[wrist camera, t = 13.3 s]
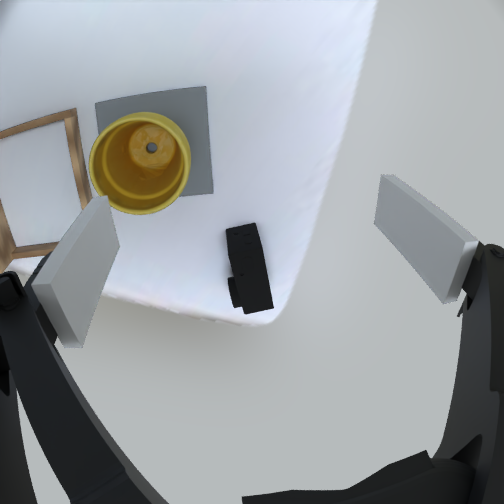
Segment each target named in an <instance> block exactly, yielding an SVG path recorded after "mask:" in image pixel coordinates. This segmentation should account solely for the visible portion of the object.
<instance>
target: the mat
mask: <svg viewBox="0 0 504 504" xmlns="http://www.w3.org/2000/svg"><path fill="white" fill-rule="evenodd" d="M95 109H96V117H97V124H98V131H99V135H100V133H101V132H102V131H103V130H104V129H105V128H106V127H107V126H109V125H110V124H111V123H113V122H115V121H116V120H118V119H120V118H122V117H124V116H126V115H129V114H133V113H138V112H152V113H157V114H160V115H163V116H165V117H167V118H169V119H170V120H172V121H173V122H174V123H175V124H177V125H178V126H179V127H180V129H181V130H182V131H183V133H184V134H185V136H186V138H187V140H188V143H189V146H190V151H191V167H190V173H189V177H188V181H187V183H186V185H185V188H184V189H183V191H182V193H181V194H180V195H179V197H181V196H191V195H202V194H213V183H212V170H211V157H210V143H209V129H208V113H207V97H206V86H203V87H193V88H183V89H175V90H167V91H160V92H153V93H146V94H140V95H134V96H128V97H123V98H118V99H113V100H108V101H103V102H99V103H95ZM147 149H148V151H149V152H154V151H156V149H157V146H156V145H155V144H154V143H149V144H148V146H147Z"/></svg>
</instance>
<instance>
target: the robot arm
mask: <svg viewBox="0 0 504 504" xmlns="http://www.w3.org/2000/svg"><path fill="white" fill-rule="evenodd" d="M374 224H375V225H376V226H377V227H378V229H379V230H381V232H382V233H383V234H384V235H385V236H386V237H387V238H388V239H389V240H390V242H391V243H392V244H393V245H394V246H395V247H396V248H397V249H398V251H399V252H400V253H401V254H402V255H403V256H404V257H405V259H406V260H407V261H408V262H409V263H410V264H411V266H412V267H413V268H414V269H415V270H416V271H417V273H418V274H419V275H420V276H421V277H422V279H423V280H424V281H425V282H426V283H427V285H428V286H429V287H430V288H431V290H432V291H433V292H434V293H435V295H436V296H437V297H438V298H439V300H440V301H441V302H442V303H443V304H446V303H450V302H454V301H457V298H458V296H459V294H460V292H461V289H463V290H464V291H465V292H466V293H467V294H466V297H465V299H464V301H463V304H462V306H461V308H460V310H459V313H458V315H457V317H460V314H462V313H463V318H462V331H461V341H460V350H459V358H458V365H457V372H456V378H455V384H454V390H453V395H452V400H451V405H450V410H449V414H448V419H447V423H446V427H445V431H444V436H443V439H442V442H441V444H440V447H439V448H438V450H437V452H436V453H435V455H434V456H433V458H430V457H429V455H428V453H427V451H426V450H425V451H422V452H420V453H418V454H415V455H413V456H410V457H407V458H405V459H402V460H400V461H397V462H394V463H391V464H389V465H387V466H385V467H384V468H382V469H381V470H379V471H378V472H376V473H374V474H373V475H371V476H369V477H368V478H366V479H364V480H363V481H361V482H359V483H357V484H356V485H354V486H352V487H350V488H348V489H344V490H322V491H321V490H289V491H283V492H276V493H270V494H262V495H253V496H244V497H242V503H243V504H504V249H503V248H502V247H500V246H498V245H494V244H487V245H485V246H484V245H483V244H482V243H481V242H480V241H479V240H478V239H477V238H476V237H474V236H473V235H472V234H471V233H470V232H469V231H467V230H466V229H465V228H463V226H461V225H460V224H459V223H458V222H456V221H455V220H454V219H453V218H451V217H450V216H449V215H448V214H446V213H445V212H444V211H443V210H441V209H440V208H439V207H437V206H436V205H435V204H433V203H432V202H431V201H429V200H428V199H427V198H426V197H424V196H423V195H421V194H420V193H419V192H417V191H416V190H414V189H413V188H412V187H410V186H409V185H408V184H406V183H405V182H403V181H402V180H400V179H399V178H398V177H396V176H395V175H381V178H380V186H379V193H378V201H377V207H376V214H375V220H374ZM119 248H120V245H119V241H118V237H117V234H116V230H115V226H114V222H113V218H112V214H111V209H110V205H109V201H108V196H100V197H94V198H92V199H91V201H90V202H89V203H88V204H87V206H86V207H85V208H84V209H83V211H82V212H81V213H80V215H79V216H78V217H77V219H76V220H75V221H74V223H73V224H72V225H71V227H70V228H69V229H68V231H67V232H66V233H65V235H64V236H63V238H62V239H61V240H60V242H59V243H58V245H57V246H56V248H55V249H54V250H53V251H51V252H49V253H48V254H47V255H46V256H45V257H44V258H42V260H41V261H40V263H39V264H38V266H37V268H36V269H35V270H34V272H33V275H31V276H30V278H29V279H28V281H27V282H26V284H25V286H24V287H23V286H22V284H21V282H20V279H19V277H18V275H17V274H16V272H14V271H7V272H4V273H1V274H0V504H37V500H36V497H35V493H34V490H33V486H32V482H31V478H30V474H29V469H28V465H27V460H26V456H25V450H24V445H23V439H22V433H21V426H20V419H19V411H18V401H17V391H18V393H19V396H20V399H21V401H22V404H23V407H24V409H25V411H26V414H27V416H28V419H29V422H30V424H31V426H32V428H33V430H34V433H35V435H36V437H37V440H38V442H39V444H40V446H41V448H42V450H43V452H44V454H45V456H46V458H47V460H48V462H49V464H50V466H51V468H52V469H53V471H54V473H55V475H56V477H57V478H58V480H59V482H60V484H61V485H62V487H63V489H64V490H65V492H66V494H67V495H68V497H69V499H70V503H71V504H169V503H168V502H166V500H164V499H163V497H162V496H161V495H160V494H159V493H158V492H157V491H156V490H155V489H154V488H153V487H152V486H151V485H150V483H149V482H148V481H147V480H146V479H145V478H144V477H143V476H142V475H141V473H140V472H139V471H138V470H137V468H136V467H135V466H134V465H133V464H132V462H131V461H130V460H129V459H128V457H127V456H126V455H125V454H124V452H123V451H122V450H121V449H120V447H119V446H118V445H117V443H116V442H115V441H114V439H113V438H112V437H111V435H110V434H109V433H108V431H107V430H106V428H105V427H104V426H103V424H102V423H101V421H100V420H99V419H98V417H97V415H96V414H95V413H94V411H93V409H92V408H91V406H90V405H89V403H88V402H87V400H86V399H85V397H84V395H83V394H82V392H81V391H80V389H79V387H78V386H77V384H76V382H75V381H74V379H73V377H72V375H71V374H70V372H69V370H68V369H67V367H66V365H65V363H64V361H63V359H62V358H61V356H60V354H59V352H58V350H57V348H56V347H55V345H54V344H55V341H56V339H57V336H58V338H59V339H60V341H61V343H62V345H63V346H64V348H82V347H83V345H84V341H85V338H86V335H87V332H88V329H89V326H90V323H91V320H92V317H93V314H94V312H95V309H96V306H97V303H98V300H99V298H100V295H101V292H102V290H103V287H104V285H105V282H106V279H107V277H108V274H109V272H110V269H111V267H112V264H113V262H114V260H115V257H116V255H117V252H118V250H119ZM16 388H17V390H16Z"/></svg>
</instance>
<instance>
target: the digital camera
mask: <svg viewBox="0 0 504 504" xmlns="http://www.w3.org/2000/svg"><path fill="white" fill-rule="evenodd" d="M238 233H239V234H238ZM235 234H236V235H235ZM226 237H227V247H228V256H229V260H230V264H231V267H232V271H233V275H234V277H230V278H228V286H229V292H230V296H231V300H232V304H233V307H234V308H237V307H242V308H243V312H244V314H250V313H255V312H259V311H264V310H268V309H273V308H274V306H273V301H272V295H271V290H270V285H269V280H268V274H267V269H266V264H265V259H264V253H263V248H262V244H261V241H260V237H259V234H258V230H257V227H256V223H251V224H247V225H242V226H238V227H233V228H229V229H226Z"/></svg>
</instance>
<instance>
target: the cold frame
mask: <svg viewBox="0 0 504 504" xmlns="http://www.w3.org/2000/svg"><path fill="white" fill-rule="evenodd" d="M63 119H64V121H65V128H66V134H67V140H68V146H69V152H70V157H71V162H72V167H73V172H74V176H75V181H76V186H77V190H78V194H79V198H80V202H81V206H82V210H83V209H84V208H85V207H86V206H87V204H88V203H89V202H90V201H91V199H92V195H91V191H90V186H89V182H88V177H87V172H86V167H85V162H84V156H83V151H82V145H81V139H80V133H79V126H78V119H77V112H76V108H74V109H70V110H66V111H62V112H59V113H55V114H52V115H48V116H45V117H42V118H39V119H35V120H32V121H29V122H26V123H23V124H20V125H17V126H15V127H12V128H9V129H6V130H4V131H1V132H0V139H2V138H5V137H8V136H11V135H14V134H16V133H19V132H22V131H26V130H29V129H32V128H35V127H38V126H42V125H45V124H48V123H52V122H55V121H59V120H63ZM58 243H59V242H54V243H46V244H38V245H31V246H23V247H16V245H15V242H14V240H13V237H12V234H11V231H10V228H9V225H8V223H7V220H6V216H5V213H4V210H3V207H2V204H1V200H0V273H3V272H4V270H5V269H6V268H7V266H8V265H9V264H10V263H11V261H12V260H13V259H19V258H27V257H36V256H45V255H47V254H48V253H49V252H51V251H53V250H54V249H55V248H56V246H57V245H58Z"/></svg>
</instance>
